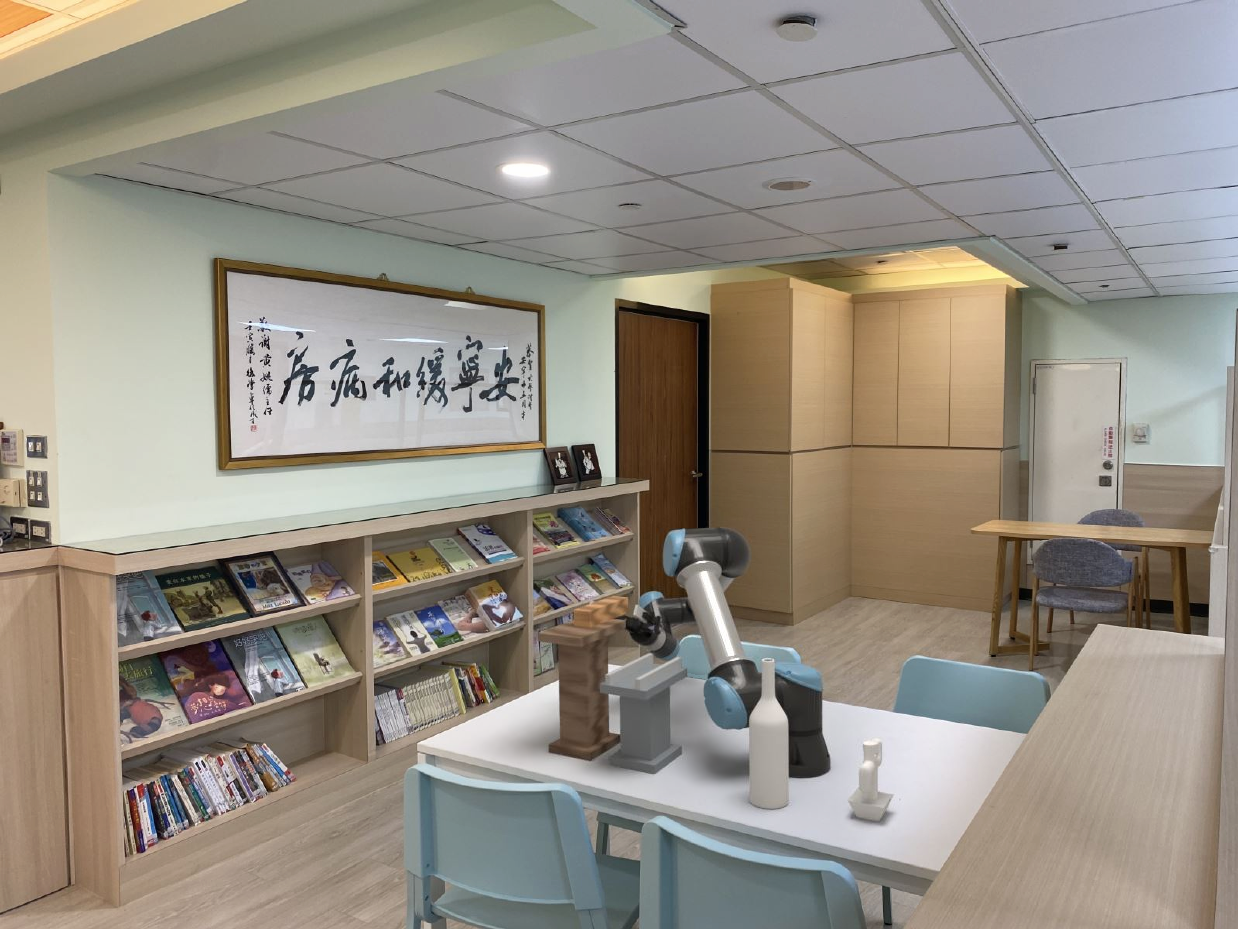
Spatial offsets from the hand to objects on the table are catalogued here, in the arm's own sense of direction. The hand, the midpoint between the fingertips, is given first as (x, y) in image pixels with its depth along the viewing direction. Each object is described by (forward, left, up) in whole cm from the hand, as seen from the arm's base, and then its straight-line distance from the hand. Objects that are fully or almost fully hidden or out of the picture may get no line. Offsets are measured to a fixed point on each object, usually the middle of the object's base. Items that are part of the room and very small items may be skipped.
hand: (612, 607), depth 235 cm
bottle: (-56, -5, -32) cm, 65 cm away
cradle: (-23, +4, -32) cm, 39 cm away
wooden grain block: (-3, +5, -2) cm, 6 cm away
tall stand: (-8, +13, -32) cm, 35 cm away
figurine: (-72, -18, -32) cm, 81 cm away
